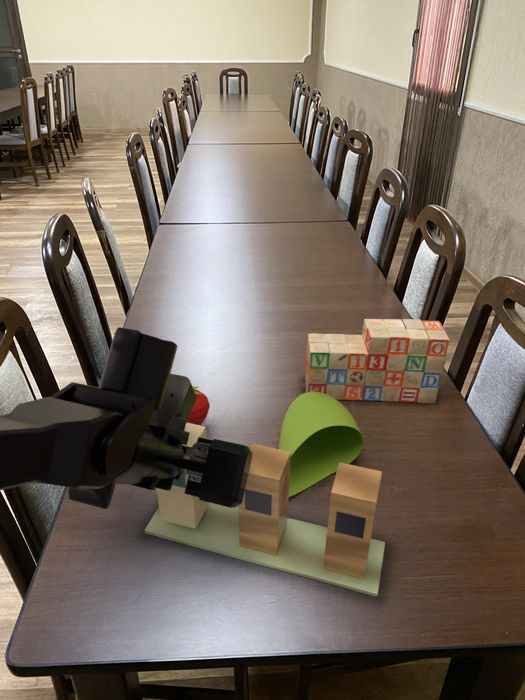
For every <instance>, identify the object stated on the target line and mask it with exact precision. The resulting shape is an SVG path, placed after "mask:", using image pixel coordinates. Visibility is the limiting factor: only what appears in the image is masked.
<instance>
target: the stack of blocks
mask: <svg viewBox="0 0 525 700" xmlns="http://www.w3.org/2000/svg"><path fill="white" fill-rule="evenodd" d="M306 344H307V345H306V357H305V376H304V377H305V393H307V392H320V393H324V394H327V395H329V396H331V397H333V398H334V399H336V400H337V401H339V400H340V401H360V402H361V401H367V402H368V401H370V402H371V401H373V402H380V401H381V402H400V403H415V404H416V403H419V404H436V401H437V398H438V394H439V387H440V384H441V379H442V376H443V372H444V369H445V365H446V361H447V352H448V348H449V345H450V337H449V336H448V334H447V331H446V330H445V328H444V327H443V325H442V323H441V321H439V320H421V319H419V318H418V319H414V318H413V319H412V318H402V319H400V318H399V319H397V318H396V319H395V318H394V319H393V318H389V319H388V318H384V319H383V318H364V320H363V327H362V333H361V334H344V333H308V334H307V342H306Z"/></svg>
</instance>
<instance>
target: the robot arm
mask: <svg viewBox="0 0 525 700" xmlns="http://www.w3.org/2000/svg"><path fill="white" fill-rule="evenodd" d="M177 351H178V345H177V343H176V342H174V341H172V340H167V339H162V338H159V337H156V336H153V335H149V334H147V333H146V334H145V333H143V332H142V331H140V330H139V329H132V328H126V327H120V326H118V327H117V328H116V330H115V331H114V334H113V337H112V341H111V344H110V348H109V351H108V355H107V358H106V361H105V365H104V368H103V372H102V374H101V377H100V382H99V384H98V386H94V385H88V384H84V383H79V382H74V381H72V382H70V383H69V384H67V385H65V386H64V387H62V388H61V389H60V390H58V391H57V392H55V393H53V394H52V395H51V396H47V397H42V398H38V399H34V400H30V401H26V402H22V403H18V404H16V405H15V406H14V407H13V409H11V411H10V412H9V413H5V414H1V415H0V491H4V490H9V489H12V488H18V487H22V486H26V485H30V484H43V485H52V486H56V487H57V486H58V487H64V488H68V489H67V494H68V499H69V500H70V501H72V502H77V503H80V504H84V505H88V506H91V507H96V508H99V509H103V510H107V509H109V508H110V505H111V503H112V499H113V495H114V491H115V487H116V485H129V486H133V487H137V488H140V489H145V490H149V491H155V490H156V489H157V488H159V489H163V490H167V491H171V487H172V483H173V479H174V480H178V481H183V480H184V478H185V471H183V472H182V471H180V470H181V468H182V469H186V470H187V471H186V474H189V477H188V481H187V485H186V489H185V493H184V494H187V495H191V496H195V497H199V500H201V501H205V502H209V503H213V504H217V505H221V506H225V507H229V508H236V507H237V506H239V505H240V504H242V501H243V496H244V492H245V487H246V483H247V478H248V474H249V469H250V465H251V460H252V456H253V453H252V451H251V449H250V446H248V445H246V444H239V443H237V442H236V443H235V442H231V441H226V440H221V439H217V438H213V439H210V438H207V439H205V438H200V437H198V440H197V443H195V444H194V445H193V446H192V447H187V446H183V445H182V444H184V445H187V442H188V438H189V434H190V433H189V432H187V431H184V430H185V426H186V423H187V421H188V418H189V416H190V413H191V411H192V408H193V406H194V404H195V403H196V400H197V396H196V394H195V391H194V389H193V387H194V386H193V384H192V382H191V379H190V378H188V377H187V376H185V375H179V374H175V373H172V370H173V366H174V361H175V358H176V354H177ZM184 455H186V457H188V455H189V457H190V459H189V460H188V459H184ZM192 455H194V456H192Z"/></svg>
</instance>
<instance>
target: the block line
mask: <svg viewBox="0 0 525 700" xmlns="http://www.w3.org/2000/svg"><path fill="white" fill-rule="evenodd" d="M249 448H250V449H251V451H252V453H253V456H252V460H251V465H250V469H249V474H248V478H247V483H246V487H245V492H244V496H243V501H242V504H240V505H239V506H237V507H236V508H229V507H225V506H221V505H217V504H213V503H209V504H208V506H207V508H206V510H205V512H204V514H203V516H202V518H201V520H200V522H199V524H198V525H197V527H196V529H194V528H190V527H186V526H183V525H179V524H175V523H171V522H168V521H164V520H161V517H160V510H159V507H158V508H157V509H156V511H155V512H154V514H153V516H152V517H151V519H150V520H149V522H148V523H147V525H146V527H145V528H144V534H146V535H150V536H154V537H156V538H157V537H158V538H161V539H164V540H168V541H171V542H175V543H179V544H182V545H185V546H190V547H194V548H198V549H201V550H204V551H207V552H212V553H215V554H218V555H223V556H226V557H230V558H234V559H237V560H241V561H244V562H247V563H251V564H256V565H259V566H262V567H265V568H269V569H273V570H277V571H280V572H283V573H284V572H285V573H288V574H292V575H295V576H299V577H302V578H305V579H310V580H313V581H317V582H321V583H323V584H327V585H331V586H335V587H339V588H343V589H347V590H348V591H354V592H356V593H361V594H364V595H368V596H371V597H375V598H378V596H379V588H380V582H381V576H382V575H381V574H382V569H383V561H384V554H385V547H386V541H384V540H380V539H379V540H378V539H375V538H372V536H373V535H372V534H373V530H374V529H373V528H374V523H375V516H376V512H377V511H376V510H377V505H378V499H379V493H380V487H381V483H382V475H383V471H381V470H376V469H373V468H367V467H364V466H360V465H359V466H358V465H354V464H350V463H349V464H345V463H340V462H339V465H338V469H337V471H336V472H335V475H334V480H333V483H332V484H333V485H332V488H331V491H330V498H329V499H330V500H329V509H328V518H327V527H326V526H323V525H320V524H315V523H311V522H307V521H302V520H299V519H295V518H291V517H289V516H288V515H289V498H290V497H289V477H290V456H291V452H289V451H285V450H280V449H279V448H276V447H270V446H266V445H261V444H257V443H251V444H250V445H249Z"/></svg>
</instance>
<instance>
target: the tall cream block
mask: <svg viewBox="0 0 525 700" xmlns="http://www.w3.org/2000/svg"><path fill="white" fill-rule="evenodd" d="M184 431H187V432H189V433H190V434H189V438H188V442H187V445H184V444H182V445H183V446H187V447H192V446H193V445H194V444H195V443H197V440H198V437H200V438H205V439H208V438H207V426H204V425H196V424H191V423H186V426H185V430H184ZM192 456H194V455H192ZM184 459H188V460H189V459H190V457H189V455H188V457H186V455H184ZM180 471H182V472H183V471H185V478H184V480H183V481H178V480H174V479H173V483H172V487H171V491H167V490H163V489H159V488H156V492H157V501H158V508H159V510H160V517H161V520H164V521H168V522H171V523H175V524H179V525H183V526H186V527H190V528H194V529H196V527H197V525H198V524H199V522H200V520H201V518H202V516H203V514H204V512H205V510H206V508H207V506H208V504H209V502H205V501H201V500H199V497H195V496H191V495H187V494H184V493H185V489H186V485H187V481H188V477H189V474H186V471H187V470H186V469H182V468H181V470H180Z"/></svg>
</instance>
